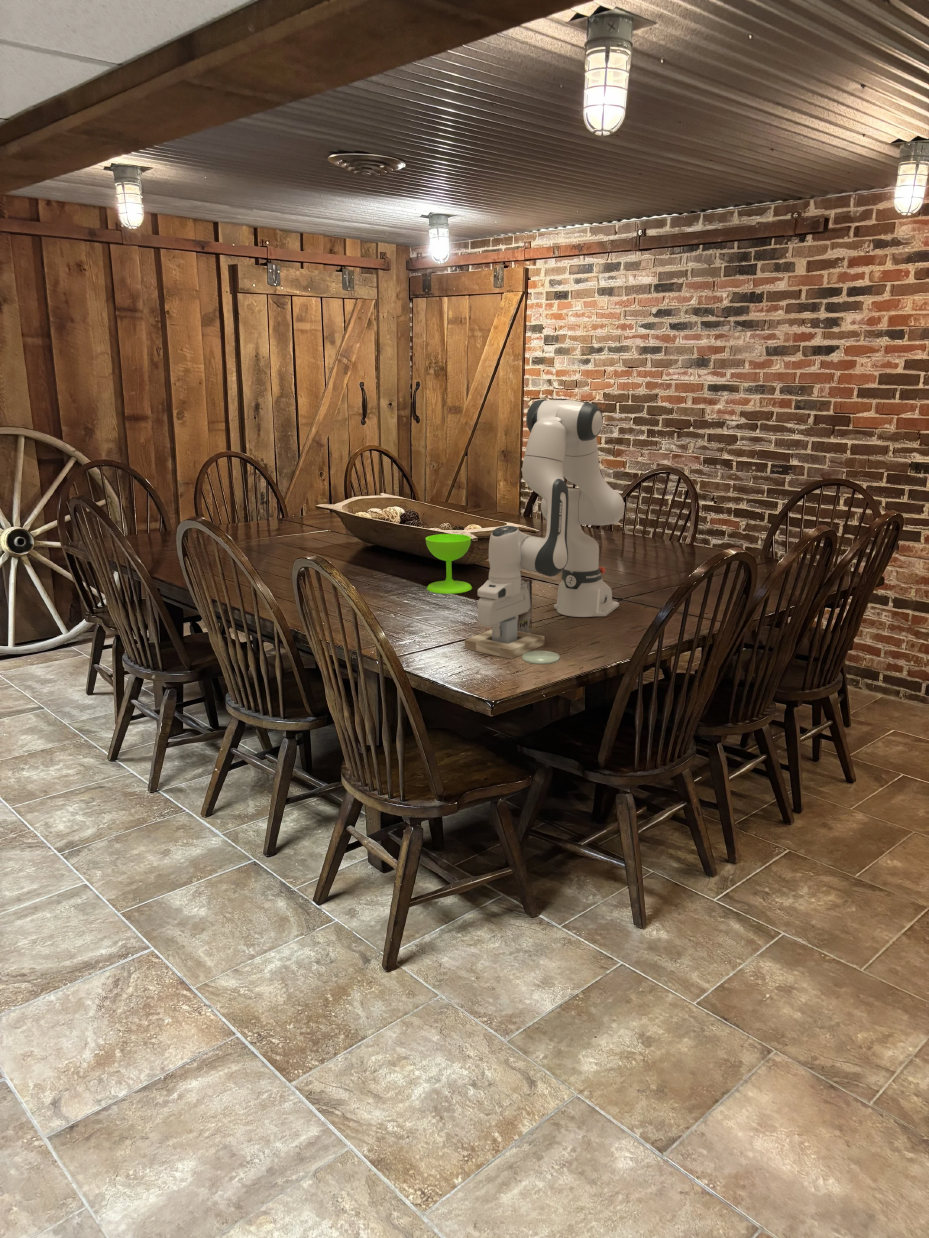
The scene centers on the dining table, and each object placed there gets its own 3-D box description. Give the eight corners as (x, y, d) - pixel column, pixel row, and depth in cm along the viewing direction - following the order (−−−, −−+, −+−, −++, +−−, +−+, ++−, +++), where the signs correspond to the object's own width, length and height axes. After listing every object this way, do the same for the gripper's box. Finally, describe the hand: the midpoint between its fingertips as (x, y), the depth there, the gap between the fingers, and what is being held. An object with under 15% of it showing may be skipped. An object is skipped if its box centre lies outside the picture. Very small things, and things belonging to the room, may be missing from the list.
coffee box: (532, 632, 269) (533, 579, 264) (518, 637, 264) (519, 583, 260) (508, 627, 275) (508, 574, 270) (494, 632, 270) (494, 578, 266)
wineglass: (466, 594, 314) (466, 542, 309) (421, 592, 317) (420, 541, 312) (475, 583, 329) (475, 534, 324) (432, 582, 332) (431, 533, 328)
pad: (535, 650, 252) (535, 648, 252) (566, 657, 246) (566, 654, 246) (514, 659, 245) (514, 657, 244) (546, 666, 239) (546, 664, 238)
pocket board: (498, 635, 267) (498, 626, 266) (544, 644, 257) (544, 636, 257) (464, 648, 255) (464, 639, 254) (511, 658, 245) (511, 650, 244)
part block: (502, 642, 259) (502, 615, 257) (517, 646, 256) (517, 618, 254) (492, 647, 256) (492, 619, 253) (506, 650, 253) (506, 622, 250)
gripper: (516, 577, 261) (516, 624, 265) (473, 591, 245) (473, 640, 249) (535, 580, 257) (534, 627, 261) (492, 594, 242) (492, 644, 245)
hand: (504, 634), depth 255 cm, fingers closed on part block, 5 cm apart
